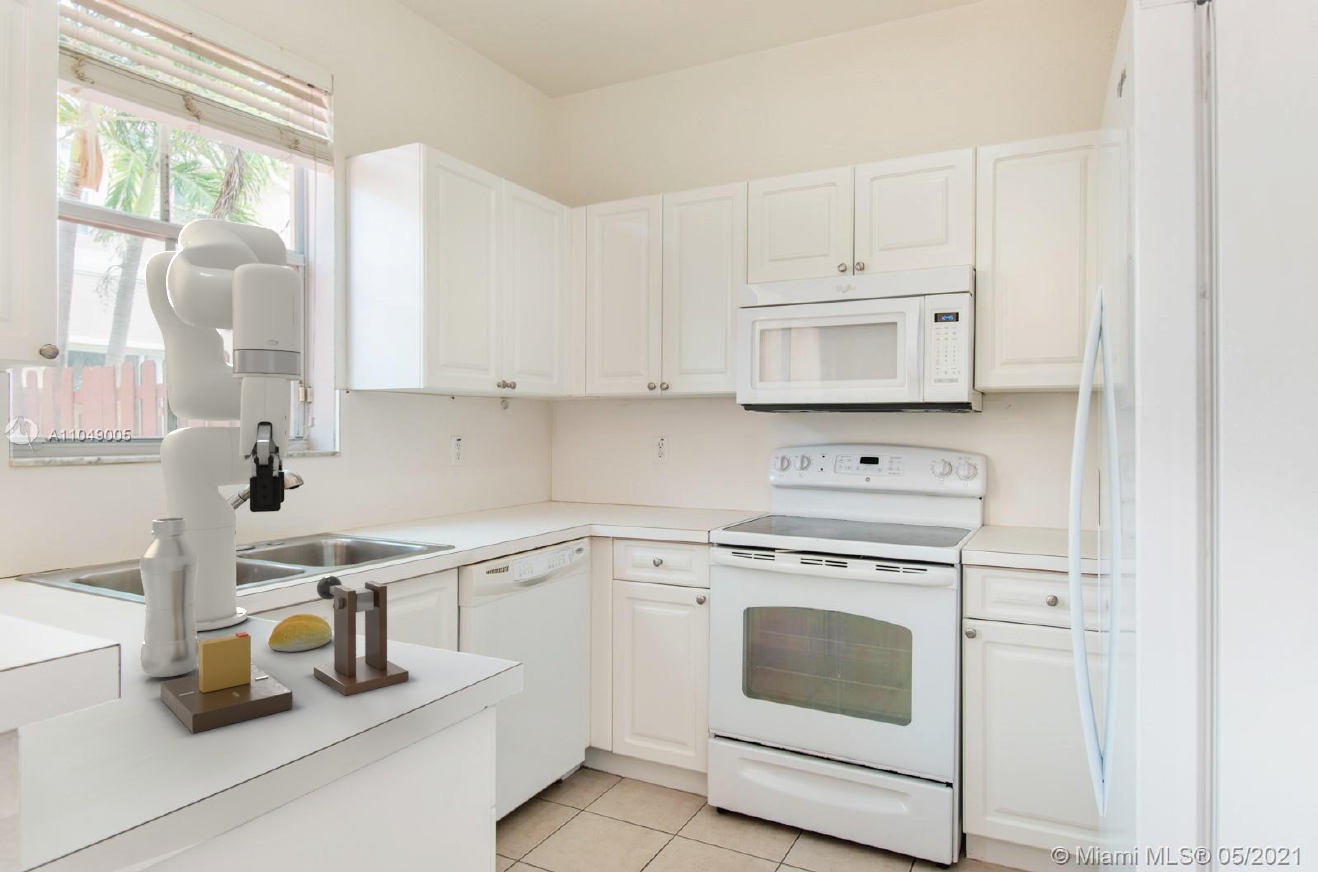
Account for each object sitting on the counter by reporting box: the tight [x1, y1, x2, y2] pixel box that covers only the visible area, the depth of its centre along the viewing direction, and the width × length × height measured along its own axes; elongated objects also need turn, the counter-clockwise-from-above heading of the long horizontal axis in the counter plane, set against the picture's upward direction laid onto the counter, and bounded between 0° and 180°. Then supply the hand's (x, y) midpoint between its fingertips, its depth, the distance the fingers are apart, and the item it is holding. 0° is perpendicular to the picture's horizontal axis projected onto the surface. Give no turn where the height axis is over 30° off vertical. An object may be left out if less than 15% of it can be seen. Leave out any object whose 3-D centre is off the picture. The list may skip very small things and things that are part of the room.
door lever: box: [316, 575, 374, 613], centre depth 102 cm, size 13×3×3 cm, turn 44°
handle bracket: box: [313, 580, 410, 696], centre depth 98 cm, size 10×8×12 cm
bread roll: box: [268, 613, 333, 653], centre depth 113 cm, size 8×9×4 cm
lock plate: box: [160, 663, 293, 734], centre depth 89 cm, size 14×10×2 cm
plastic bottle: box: [139, 517, 200, 678], centre depth 99 cm, size 6×7×20 cm
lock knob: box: [198, 631, 252, 693], centre depth 89 cm, size 5×2×6 cm, turn 134°
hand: (268, 506), depth 95 cm, fingers open, 9 cm apart
